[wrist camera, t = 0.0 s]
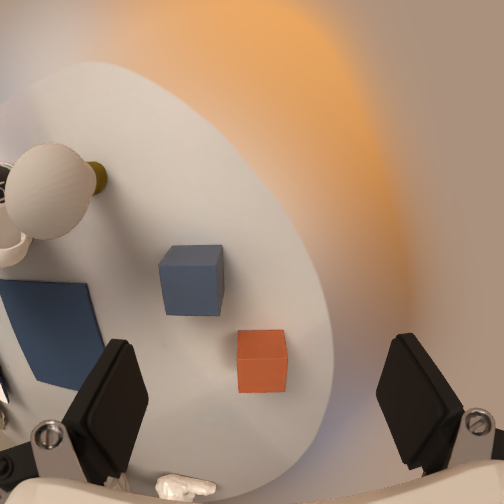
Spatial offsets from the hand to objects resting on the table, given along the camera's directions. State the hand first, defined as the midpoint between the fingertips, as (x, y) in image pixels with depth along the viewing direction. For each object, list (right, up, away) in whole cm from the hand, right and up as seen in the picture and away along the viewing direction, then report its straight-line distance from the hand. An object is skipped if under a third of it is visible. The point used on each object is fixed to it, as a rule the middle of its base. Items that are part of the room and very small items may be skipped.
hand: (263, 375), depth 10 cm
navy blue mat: (-23, -6, +17) cm, 29 cm away
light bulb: (-13, +10, +12) cm, 20 cm away
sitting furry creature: (-12, -34, +28) cm, 45 cm away
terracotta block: (0, -4, +17) cm, 17 cm away
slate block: (-5, +3, +14) cm, 15 cm away
